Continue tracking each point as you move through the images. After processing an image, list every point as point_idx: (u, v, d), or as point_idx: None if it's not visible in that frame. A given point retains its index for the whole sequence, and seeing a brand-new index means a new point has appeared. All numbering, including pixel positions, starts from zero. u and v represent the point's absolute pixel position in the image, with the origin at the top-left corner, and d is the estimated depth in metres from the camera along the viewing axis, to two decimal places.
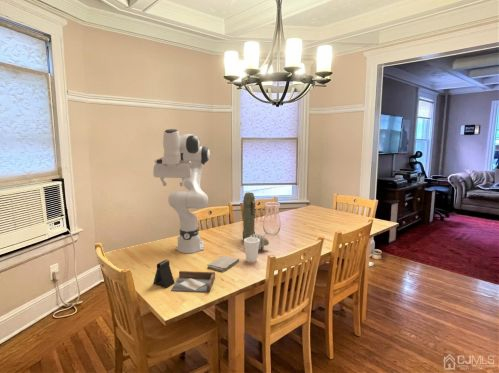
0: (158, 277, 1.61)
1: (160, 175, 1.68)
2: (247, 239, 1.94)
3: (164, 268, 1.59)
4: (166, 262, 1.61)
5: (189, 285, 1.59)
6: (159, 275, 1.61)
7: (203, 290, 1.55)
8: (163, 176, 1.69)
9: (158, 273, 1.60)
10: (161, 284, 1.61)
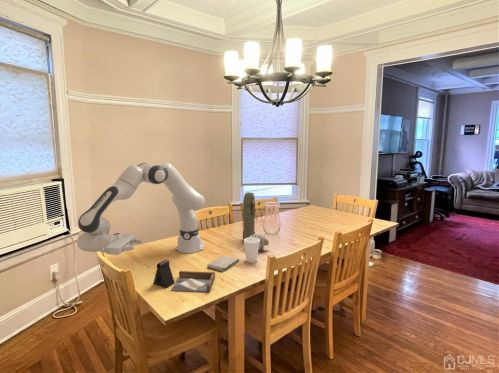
0: (158, 277, 1.61)
1: None
2: (247, 239, 1.94)
3: (164, 268, 1.59)
4: (166, 262, 1.61)
5: (189, 285, 1.59)
6: (159, 275, 1.61)
7: (203, 290, 1.55)
8: None
9: (158, 273, 1.60)
10: (161, 284, 1.61)
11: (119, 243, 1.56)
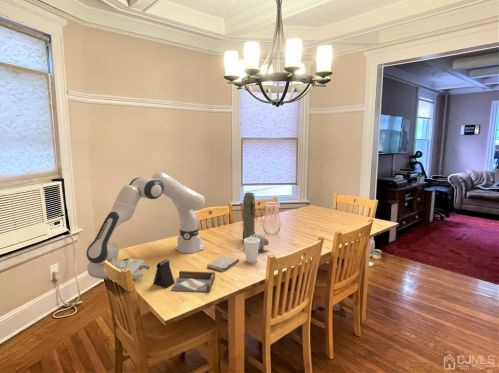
0: (158, 277, 1.61)
1: None
2: (247, 239, 1.94)
3: (164, 268, 1.59)
4: (166, 262, 1.61)
5: (189, 285, 1.59)
6: (159, 275, 1.61)
7: (203, 290, 1.55)
8: None
9: (158, 273, 1.60)
10: (161, 284, 1.61)
11: None
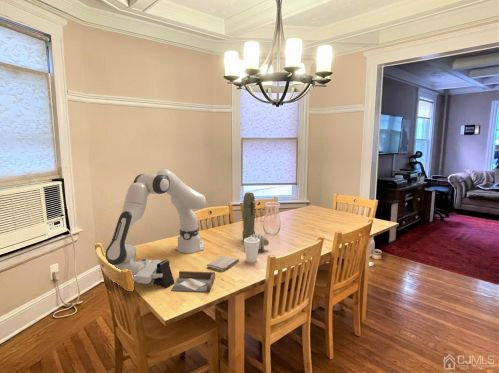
0: None
1: None
2: (247, 239, 1.94)
3: (164, 268, 1.59)
4: (166, 262, 1.61)
5: (189, 285, 1.59)
6: None
7: (203, 290, 1.55)
8: None
9: None
10: (161, 284, 1.61)
11: (148, 271, 1.57)
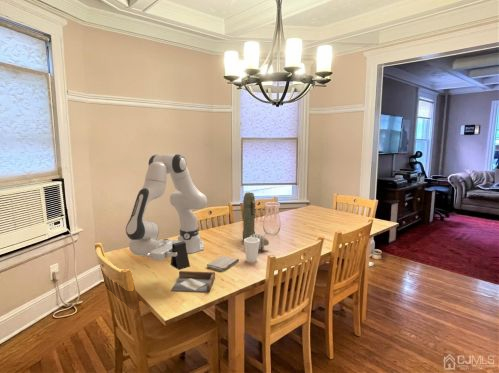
0: (174, 258, 1.57)
1: None
2: (247, 239, 1.94)
3: (178, 249, 1.54)
4: (182, 243, 1.56)
5: (189, 285, 1.59)
6: None
7: (203, 290, 1.55)
8: None
9: None
10: (177, 266, 1.56)
11: (163, 249, 1.55)
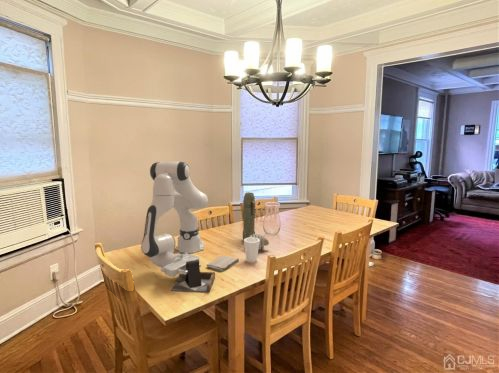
0: None
1: None
2: (247, 239, 1.94)
3: (191, 268, 1.58)
4: (195, 262, 1.59)
5: None
6: None
7: (203, 290, 1.55)
8: None
9: None
10: None
11: (177, 265, 1.59)
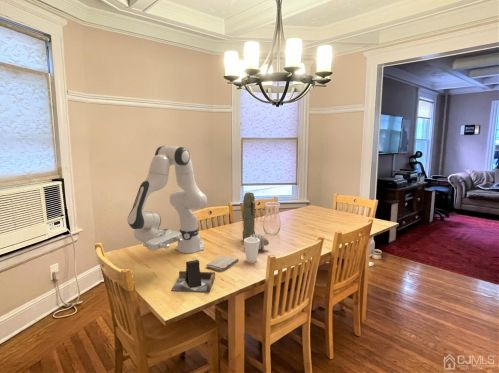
0: None
1: None
2: (247, 239, 1.94)
3: (191, 268, 1.58)
4: (195, 262, 1.59)
5: None
6: None
7: (203, 290, 1.55)
8: None
9: (187, 271, 1.60)
10: None
11: (159, 240, 1.65)
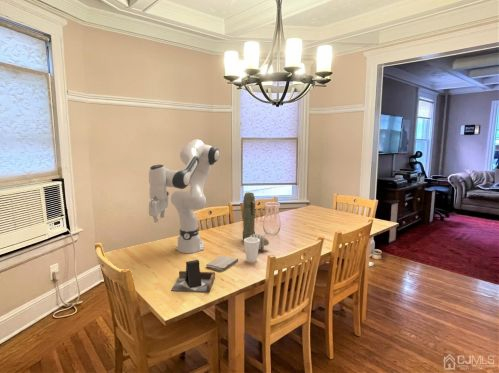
0: None
1: None
2: (247, 239, 1.94)
3: (191, 268, 1.58)
4: (195, 262, 1.59)
5: None
6: None
7: (203, 290, 1.55)
8: None
9: (187, 271, 1.60)
10: None
11: (159, 208, 1.68)
